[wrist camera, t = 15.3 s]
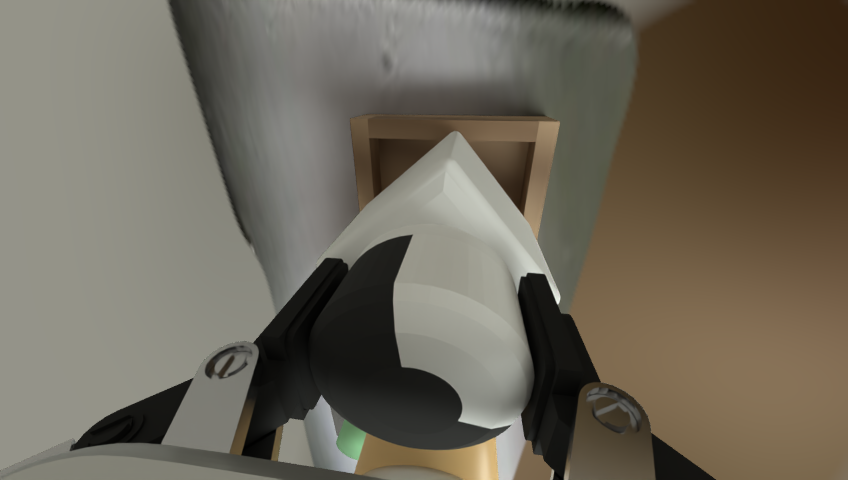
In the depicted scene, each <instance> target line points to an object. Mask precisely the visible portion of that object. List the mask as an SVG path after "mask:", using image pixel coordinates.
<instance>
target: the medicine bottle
mask: <svg viewBox="0 0 848 480" xmlns="http://www.w3.org/2000/svg"><path fill="white" fill-rule="evenodd" d="M325 258H340V259H342V260H343V262H344V263H347V264H348V269H349V271H348V273H347V274H346V276H345V277H344V279H343V280H342V282H341V283H340V285H339V286H338V288H337V289H336V291H335V292H334V294H333V295H332V297H331V299H330V300H329V302H328V303H327V305H326V306H325V308H324V309H323V311H322V312H321V314H320V315H319V317H318V318H317V320H316V321H315V323H314V325H313V327H312V329H311V332H310V336H309V340H308V358H309V364H310V368H311V371H312V375H313V378H314V381H315V384H316V386H317V388H318V390H319V392H320V393H321V395H322V396H323V397H324V399H325V400H326V402H327V403H328V404H329V405H330V406H331V407H332V408H333V409H334V410H335V411H336V412H337V413H338V414H339V415H340V416H341V417H342V418H344V419H345V420H347V421H348V422H349V423H351V424H352V425H354V426H355V427H357V428H359V429H360V430H362V431H364V432H366V433H368V434H370V435H372V436H374V437H377V438H379V439H382V440H384V441H387V442H389V443H393V444H396V445H400V446H404V447H408V448H415V449H425V450H452V449H461V448H466V447H471V446H475V445H478V444H481V443H484V442H486V441H488V440H490V439H493V438H495V437H496V436H498V435H499V434H501V433H503V432H504V431H505V430H506V429H508V428H509V427H510V426H511V425H512V424H513V423H514V421H515V420H516V419H517V418H518V416H519V415H520V414H521V413H522V411H523V410H524V409H525V408H526V406H527V404H528V402H529V400H530V397H531V394H532V390H533V386H534V378H535V374H534V367H533V361H532V357H531V353H530V348H529V344H528V339H527V335H526V330H525V326H524V322H523V317H522V313H521V308H520V304H519V300H518V295H517V294H518V288H519V283H520V278H521V276H525V277H526V275H527V273H540V274H545V275H546V277H547V280H548V282H549V285H550V287H551V290H552V292H553V295H554V297H555V300H556V302H557V304H558V303H559V301H560V294H559V291H558V289H557V287H556V284H555V282H554V280H553V278H552V275H551V273H550V271H549V268H548V266H547V264H546V261H545V259H544V257H543V254H542V252H541V250H540V247H539V245H538V243H537V241H536V238H535V236H534V234H533V231H532V229H531V227H530V224H529V223H528V222H527V220H526V219H525V218H524V216H523V215H522V214H521V212H520V211H519V210H518V209H517V207H516V206H515V205H514V203H513V202H512V201H511V199H510V198H509V197H508V195H507V194H506V193H505V191H504V190H503V189H502V187H501V186H500V185H499V183H498V182H497V181H496V179H495V178H494V177H493V175H492V174H491V173H490V171H489V170H488V169H487V167H486V166H485V165H484V164H483V162H482V161H481V160H480V158H479V157H478V156H477V154H476V153H475V152H474V150H473V149H472V148H471V146H470V145H469V144H468V142H467V141H466V140H465V138H464V137H463V136H462V134H461V133H459V132H458V131H453V132H451V133H450V134H449V135H448V136H446V137H445V138H444V139H443V140H442V141H441V142H439V143H438V144H437V145H436V146H435V147H434V148H432V149H431V150H430V151H429V152H428V153H427V154H425V155H424V156H423V157H422V158H421V159H420V160H418V161H417V162H416V163H415V164H414V165H413V166H411V167H410V168H409V169H408V170H407V171H406V172H404V173H403V174H402V175H401V176H400V177H399V178H397V179H396V180H395V181H394V182H393V183H392V184H390V185H389V186H388V187H387V188H386V189H385V190H383V191H382V192H381V193H380V194H379V195H378V196H376V197H375V198H374V199H373V200H372V201H370V202H369V203H368V204H367V205H366V206H365V207H364V208H363V210H362V211H361V212H360V213H359V214H358V215H357V216H356V217H355V219H354V220H353V221H352V222H351V223H350V224H349V225H348V226H347V228H346V229H345V230H344V231H343V232H342V233H341V234H340V235H339V237H338V238H337V239H336V240H335V241H334V242H333V243H332V244H331V246H330V247H329V248H328V249H327V250H326V251H325V252H324V253H323V255H322V256H321V257H320V258H319V259H318V261H317V264H316V267H318V266H319V265H320V264H321V263H322V261H323V260H324V259H325Z"/></svg>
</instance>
